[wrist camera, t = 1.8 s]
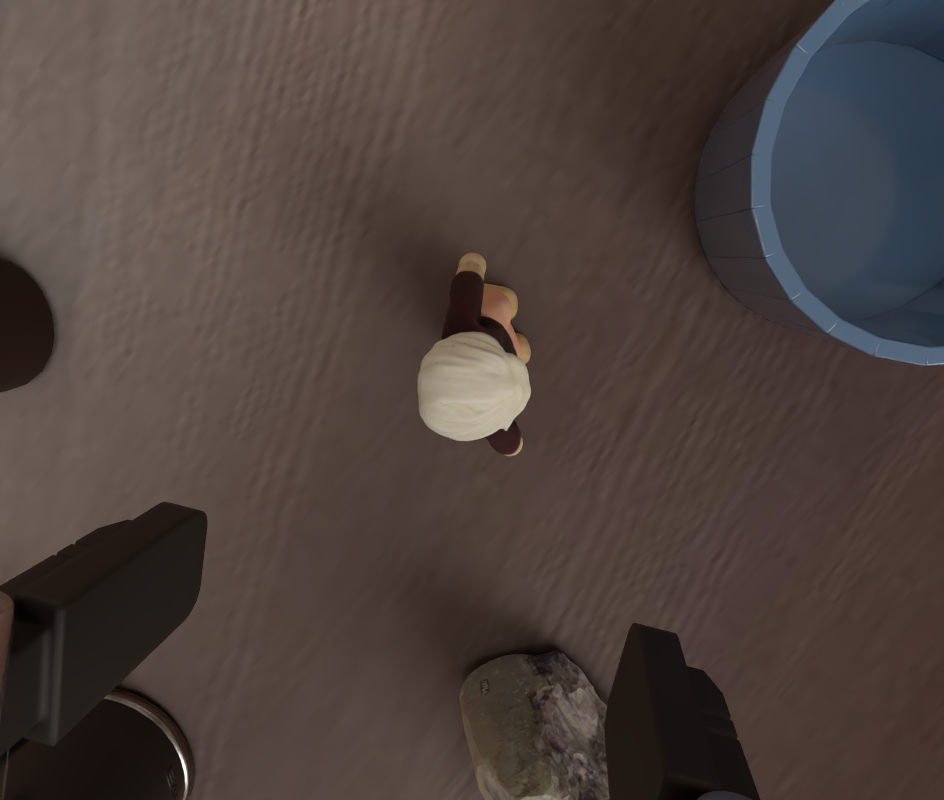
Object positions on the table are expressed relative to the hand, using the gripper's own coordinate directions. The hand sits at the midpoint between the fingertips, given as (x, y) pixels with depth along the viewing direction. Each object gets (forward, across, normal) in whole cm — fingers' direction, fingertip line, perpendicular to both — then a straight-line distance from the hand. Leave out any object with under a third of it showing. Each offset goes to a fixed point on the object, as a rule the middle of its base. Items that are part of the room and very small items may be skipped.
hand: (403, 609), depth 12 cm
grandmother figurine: (+20, +1, -2) cm, 20 cm away
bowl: (+20, -12, -12) cm, 26 cm away
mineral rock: (+20, -7, +19) cm, 28 cm away
